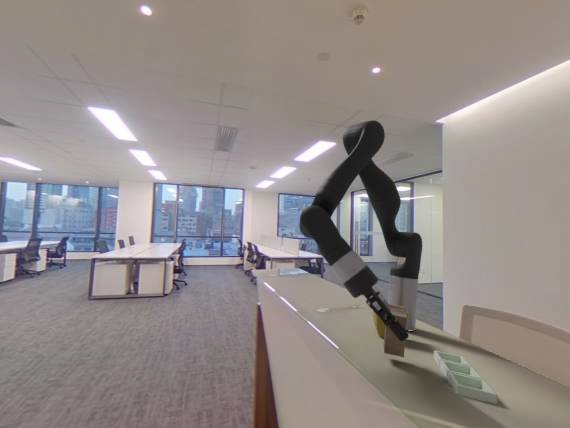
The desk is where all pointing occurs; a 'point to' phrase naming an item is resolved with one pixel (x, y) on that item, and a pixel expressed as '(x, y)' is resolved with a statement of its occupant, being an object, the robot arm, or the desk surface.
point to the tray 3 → (472, 388)
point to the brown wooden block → (390, 339)
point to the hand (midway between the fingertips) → (403, 335)
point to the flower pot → (381, 324)
